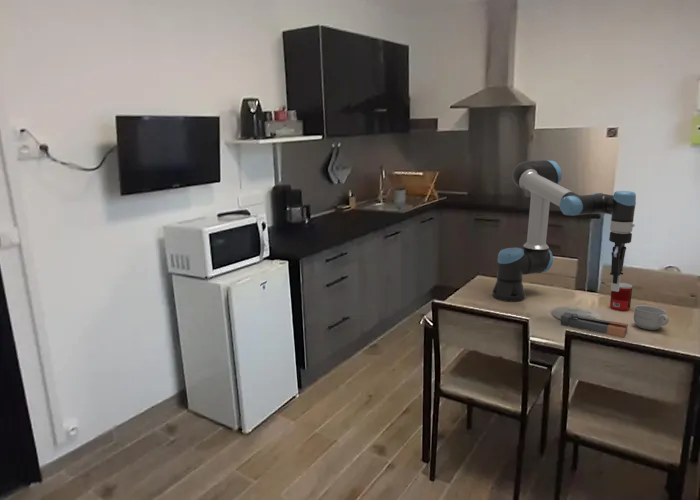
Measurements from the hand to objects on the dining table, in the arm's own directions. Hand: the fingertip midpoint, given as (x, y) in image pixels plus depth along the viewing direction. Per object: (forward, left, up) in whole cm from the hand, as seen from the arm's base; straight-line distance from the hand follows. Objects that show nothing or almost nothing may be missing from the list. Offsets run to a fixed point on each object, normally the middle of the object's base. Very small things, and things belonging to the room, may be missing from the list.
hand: (614, 290), depth 199 cm
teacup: (+12, +9, -16) cm, 22 cm away
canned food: (-3, +28, -16) cm, 33 cm away
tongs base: (-6, -5, -16) cm, 18 cm away
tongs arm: (-4, -3, -16) cm, 17 cm away
